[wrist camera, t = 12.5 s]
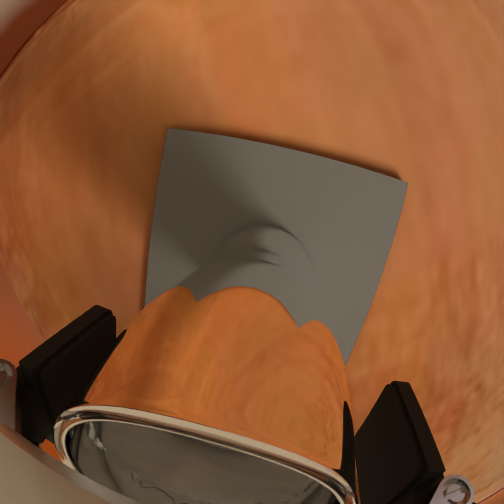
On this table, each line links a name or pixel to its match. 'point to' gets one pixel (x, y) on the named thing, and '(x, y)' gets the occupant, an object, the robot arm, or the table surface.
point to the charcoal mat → (275, 217)
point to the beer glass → (221, 390)
